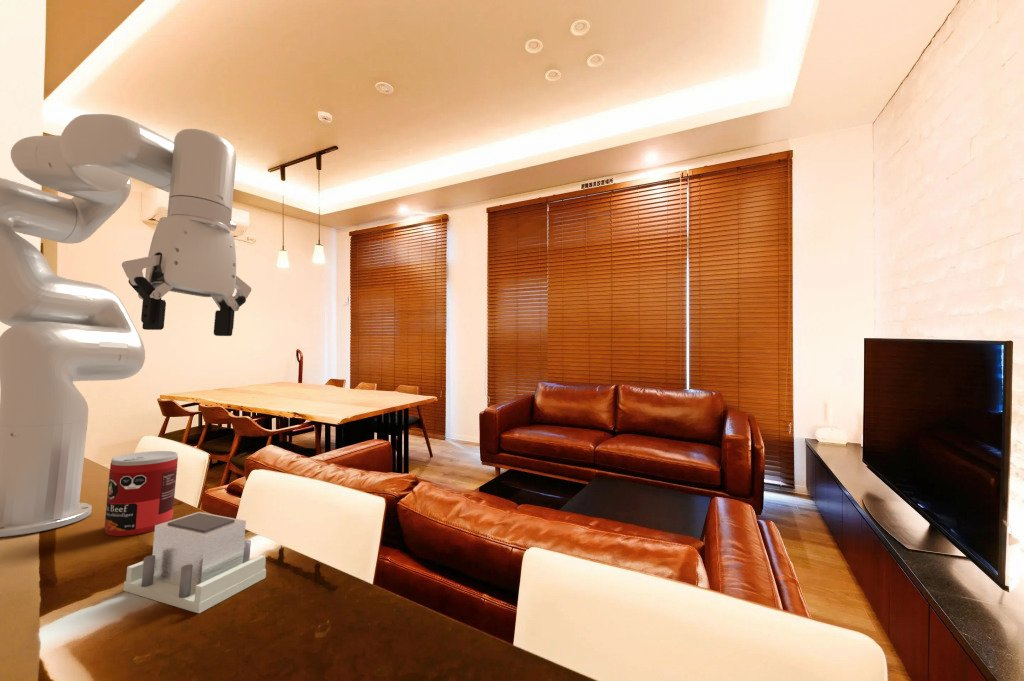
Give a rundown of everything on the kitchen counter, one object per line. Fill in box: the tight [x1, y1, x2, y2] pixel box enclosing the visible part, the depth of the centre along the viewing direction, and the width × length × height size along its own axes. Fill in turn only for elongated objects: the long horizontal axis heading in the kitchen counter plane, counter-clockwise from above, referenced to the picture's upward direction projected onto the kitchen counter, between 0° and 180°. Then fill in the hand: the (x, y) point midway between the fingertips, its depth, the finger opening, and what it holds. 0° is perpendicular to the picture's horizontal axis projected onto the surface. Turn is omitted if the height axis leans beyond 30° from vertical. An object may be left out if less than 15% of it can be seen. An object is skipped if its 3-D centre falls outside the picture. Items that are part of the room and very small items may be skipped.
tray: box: [123, 539, 267, 614], centre depth 49 cm, size 12×8×4 cm, turn 72°
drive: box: [151, 511, 247, 591], centre depth 49 cm, size 8×5×6 cm, turn 72°
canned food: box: [104, 450, 179, 537], centre depth 65 cm, size 8×8×11 cm
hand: (190, 332), depth 60 cm, fingers open, 9 cm apart
